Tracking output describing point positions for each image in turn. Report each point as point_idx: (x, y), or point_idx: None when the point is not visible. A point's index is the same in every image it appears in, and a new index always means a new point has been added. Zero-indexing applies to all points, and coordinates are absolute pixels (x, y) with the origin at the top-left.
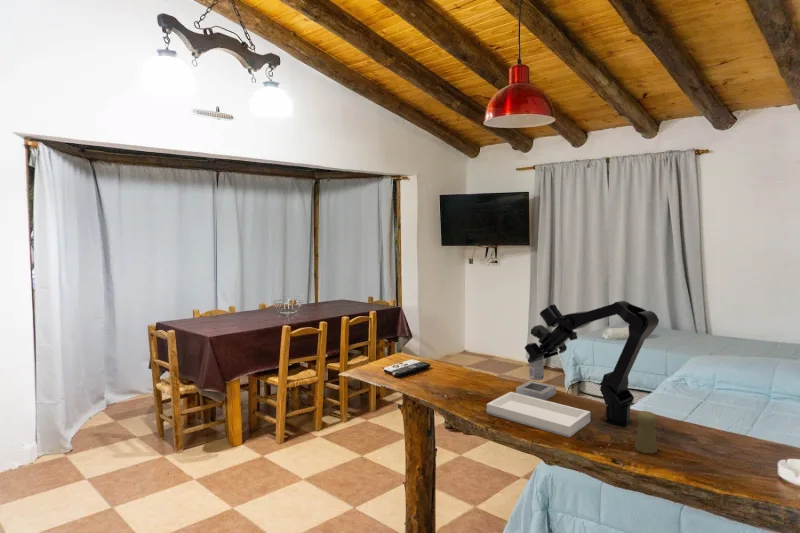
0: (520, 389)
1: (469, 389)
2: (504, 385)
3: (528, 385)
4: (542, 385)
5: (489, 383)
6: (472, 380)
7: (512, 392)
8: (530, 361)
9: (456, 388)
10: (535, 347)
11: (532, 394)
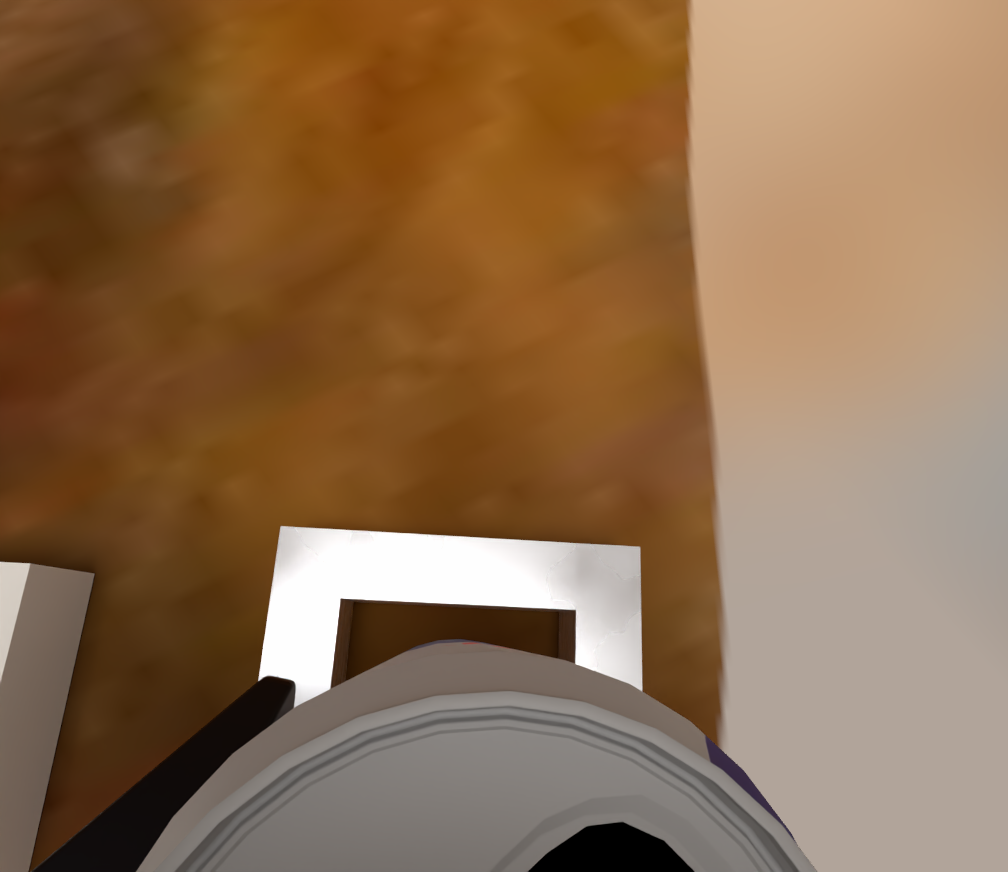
0: (273, 593)
1: (216, 108)
2: (520, 310)
3: (479, 605)
4: None
5: (484, 177)
6: (465, 32)
7: (12, 598)
8: None
9: (178, 15)
10: None
11: None
